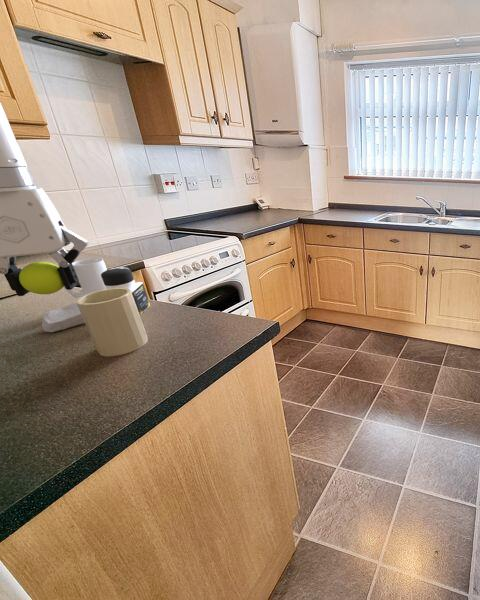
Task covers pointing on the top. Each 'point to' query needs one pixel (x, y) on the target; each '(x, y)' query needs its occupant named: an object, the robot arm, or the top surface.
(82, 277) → the mug
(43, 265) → the ball
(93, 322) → the beige octagonal cup
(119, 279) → the medicine bottle
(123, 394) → the top surface
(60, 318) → the soap bar
